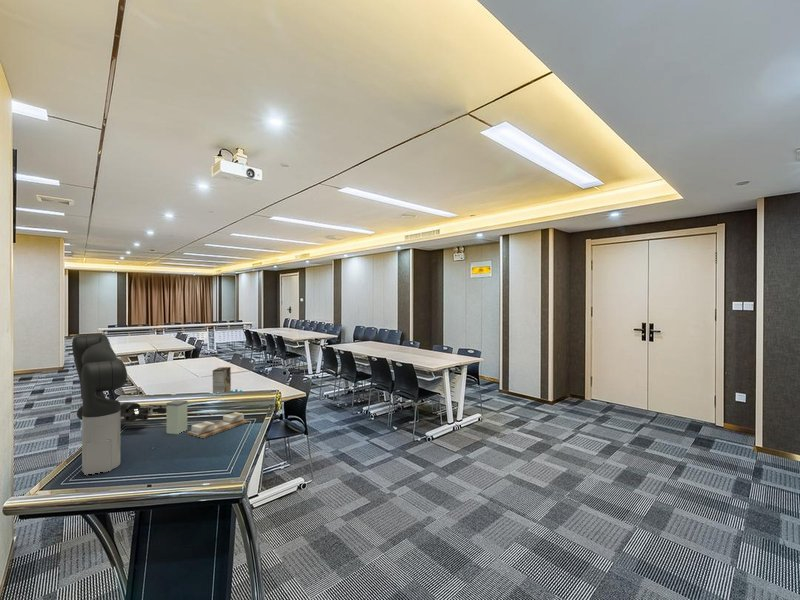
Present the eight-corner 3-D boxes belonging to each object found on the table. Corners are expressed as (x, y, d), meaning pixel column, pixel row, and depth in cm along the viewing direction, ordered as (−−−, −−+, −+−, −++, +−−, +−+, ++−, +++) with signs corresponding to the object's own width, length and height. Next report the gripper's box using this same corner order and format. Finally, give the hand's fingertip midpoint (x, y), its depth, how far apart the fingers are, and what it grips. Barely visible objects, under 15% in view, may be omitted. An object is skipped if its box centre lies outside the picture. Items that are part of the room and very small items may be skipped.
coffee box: (219, 395, 198) (219, 367, 198) (231, 395, 199) (231, 366, 199) (212, 400, 189) (212, 370, 189) (224, 400, 189) (224, 369, 190)
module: (178, 434, 140) (178, 403, 140) (166, 433, 141) (166, 403, 141) (187, 430, 144) (187, 400, 144) (175, 429, 145) (176, 400, 145)
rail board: (203, 438, 135) (203, 429, 135) (187, 434, 139) (187, 424, 139) (247, 423, 152) (247, 414, 152) (232, 419, 157) (232, 411, 157)
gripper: (107, 407, 141) (140, 409, 138) (140, 398, 155) (171, 400, 151) (107, 426, 141) (140, 429, 137) (140, 415, 155) (171, 417, 151)
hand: (156, 413), depth 144 cm, fingers open, 8 cm apart
